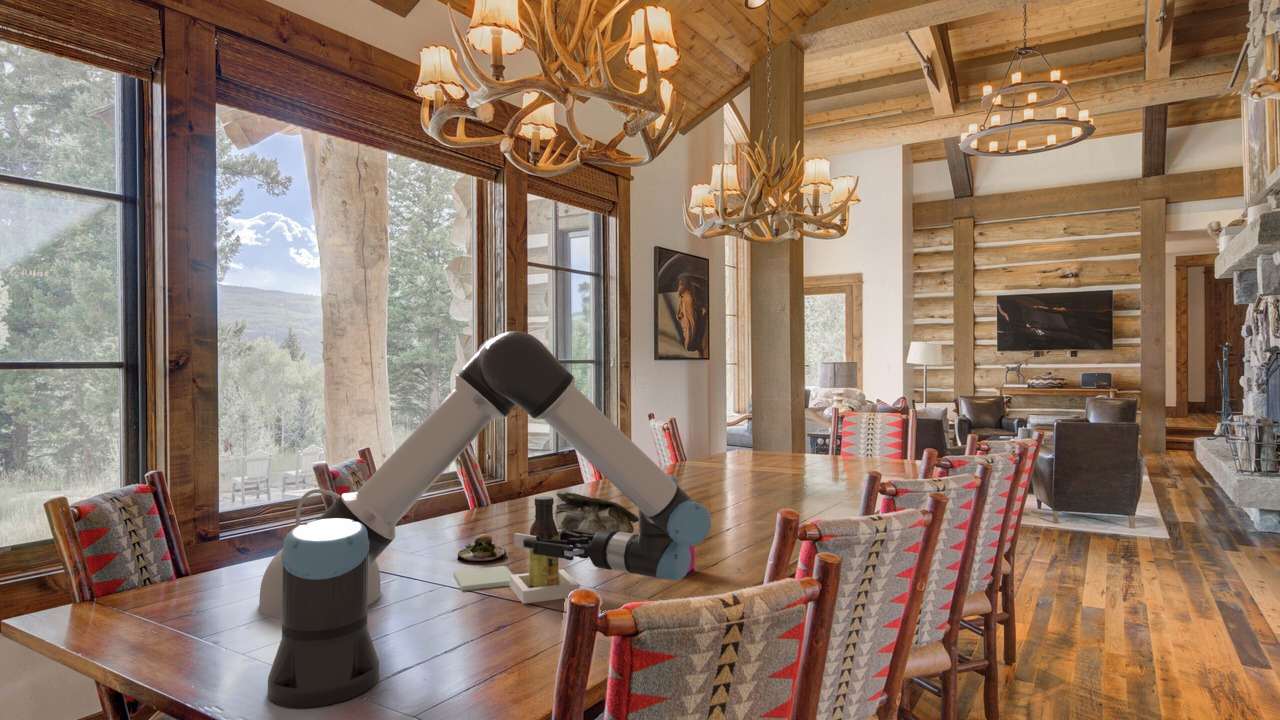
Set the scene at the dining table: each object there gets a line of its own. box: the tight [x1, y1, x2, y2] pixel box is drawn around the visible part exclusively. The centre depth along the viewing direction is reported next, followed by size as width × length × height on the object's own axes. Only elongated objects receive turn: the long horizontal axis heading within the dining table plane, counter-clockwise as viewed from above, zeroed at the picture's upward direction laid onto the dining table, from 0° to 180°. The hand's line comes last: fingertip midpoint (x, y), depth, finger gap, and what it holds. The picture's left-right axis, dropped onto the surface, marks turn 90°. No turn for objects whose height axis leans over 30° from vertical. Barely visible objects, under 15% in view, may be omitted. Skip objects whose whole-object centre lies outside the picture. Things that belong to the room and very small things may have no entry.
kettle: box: [258, 488, 382, 620], centre depth 142 cm, size 25×23×22 cm
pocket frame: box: [509, 568, 581, 605], centre depth 148 cm, size 12×12×2 cm
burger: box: [456, 527, 507, 562], centre depth 175 cm, size 12×12×8 cm
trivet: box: [452, 565, 514, 592], centre depth 156 cm, size 12×12×1 cm
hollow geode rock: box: [554, 491, 639, 534], centre depth 194 cm, size 28×13×15 cm
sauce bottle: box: [528, 495, 560, 588], centre depth 148 cm, size 6×6×20 cm
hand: (525, 536), depth 151 cm, fingers closed on sauce bottle, 6 cm apart
